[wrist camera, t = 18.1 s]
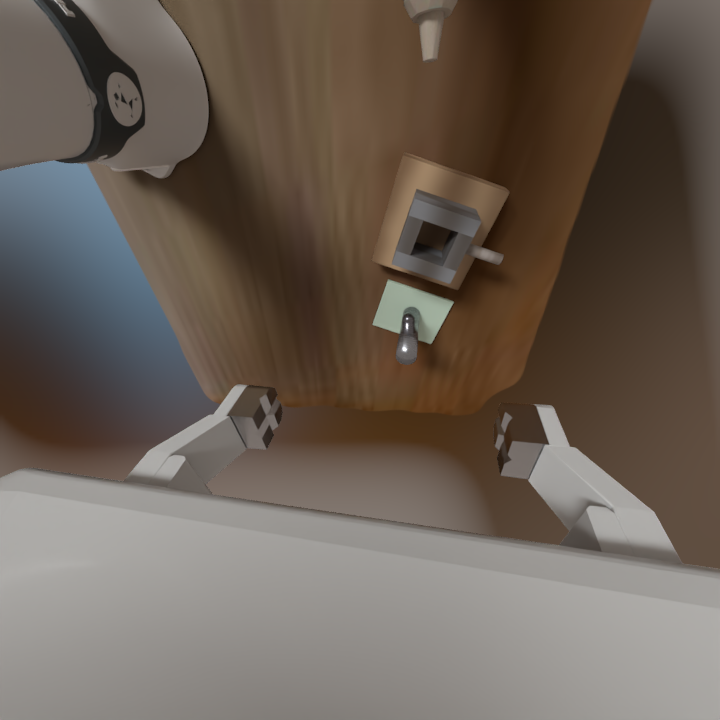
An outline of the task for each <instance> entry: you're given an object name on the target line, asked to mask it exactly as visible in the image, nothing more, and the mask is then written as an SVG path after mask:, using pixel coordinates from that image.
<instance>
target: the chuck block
mask: <svg viewBox="0 0 720 720" xmlns="http://www.w3.org/2000/svg"><path fill="white" fill-rule="evenodd" d="M509 193H510V192H509V191H508V190H507V189H506V188H505V187H503V186H501V185H498V184H495V183H492V182H489V181H486V180H483V179H480V178H478V177H475V176H472V175H469V174H466V173H463V172H460V171H458V170H455V169H452V168H449V167H446V166H443V165H440V164H437V163H435V162H432V161H429V160H426V159H423V158H420V157H417V156H414V155H412V154H409V153H406V152H405V153H404V154H403V157H402V160H401V163H400V167H399V170H398V173H397V177H396V180H395V183H394V187H393V190H392V193H391V197H390V200H389V203H388V207H387V210H386V213H385V217H384V220H383V223H382V227H381V230H380V233H379V237H378V240H377V243H376V247H375V250H374V253H373V257H372V260H371V261H372V262H375V263H378V264H381V265H384V266H387V267H390V268H393V269H396V270H399V271H402V272H405V273H408V274H411V275H414V276H417V277H420V278H423V279H426V280H429V281H432V282H435V283H438V284H441V285H444V286H447V287H449V288H452V289H455V290H458V289H459V287H460V285H461V284H462V282H463V280H464V278H465V276H466V274H467V272H468V270H469V269H470V267H471V265H472V263H473V261H474V259H475V257H476V258H479V259H481V260H484V261H487V262H490V263H493V264H496V265H499V264H500V263H501V262H502V260H503V256H504V255H503V254H500V253H497V252H494V251H491V250H488V249H485V248H483V247H481V246H482V244H483V242H484V240H485V238H486V237H487V235H488V233H489V231H490V229H491V227H492V225H493V223H494V221H495V220H496V218H497V216H498V214H499V212H500V210H501V208H502V206H503V205H504V203H505V201H506V199H507V197H508V195H509Z"/></svg>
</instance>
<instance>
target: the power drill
mask: <svg viewBox="0 0 720 720" xmlns="http://www.w3.org/2000/svg"><path fill="white" fill-rule="evenodd" d="M403 1H404V7H405V8H406V10H407V12H408V14H409V16H410V18H411V20H412V21H413V23H418V24H419V29H420V38H421V46H422V55H423V62H433V61H436V60H437V57H438V51H439V45H440V39H441V33H442V27H443V21H444V19H445V18H447V17H448V16H449V15H451V13H452V11H453V9H454V7H455V5H456V3H457V1H458V0H403Z"/></svg>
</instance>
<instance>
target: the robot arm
mask: <svg viewBox="0 0 720 720" xmlns="http://www.w3.org/2000/svg"><path fill="white" fill-rule="evenodd" d="M208 117H209V106H208V96H207V90H206V86H205V81H204V78H203V74H202V71H201V68H200V66H199V63H198V61H197V58H196V56H195V54H194V52H193V50H192V48H191V46H190V44H189V42H188V41H187V39H186V37H185V36H184V34H183V33H182V31H181V30H180V28H179V27H178V26H177V24H176V23H175V22H174V21H173V19H172V18H171V17H170V16H169V14H168V13H167V12H166V11H165V10H164V8H163V7H162V6H161V4H160V3H159V1H158V0H0V171H2V170H6V169H11V168H15V167H20V166H25V165H30V164H35V163H41V162H47V161H53V160H55V161H59V162H64V163H81V164H83V163H93V162H97V163H100V164H104V165H106V166H109V167H110V168H111V170H113V171H130V170H143V171H145V172H147V173H149V174H151V175H152V176H154V177H156V178H167V177H168V176H169V175H170V174H171V173H172V171H173V169H174V167H175V165H176V164H177V163H178V162H179V161H181V160H183V159H185V158H188V157H189V156H191V155H192V154H194V153H195V152H196V151H197V149H198V148H199V147H200V145H201V144H202V142H203V140H204V137H205V134H206V131H207V126H208ZM277 395H278V394H277V391H276V389H275V388H273V387H264V386H253V385H240V384H238V385H236V386H234V387H233V389H232V390H231V391H230V393H229V394H228V395H227V397H226V398H225V400H224V401H223V402H222V404H221V405H220V406H219V408H218V409H217V411H216V412H215V413H214V415H208V416H207V417H205V418H203V419H202V420H200V421H198V422H197V423H195V424H193V425H191V426H190V427H188V428H186V429H185V430H183V431H181V432H180V433H178V434H176V435H175V436H173V437H171V438H169V439H168V440H166V441H164V442H163V443H161V444H159V445H158V446H156V447H154V448H153V449H151V450H150V451H148V453H147V454H146V455H145V456H144V457H143V459H142V460H141V461H140V462H139V463H138V464H137V466H136V467H135V468H134V469H133V470H132V472H131V473H130V474H129V475H128V476H127V478H126V479H125V480H124V481H118V480H111V479H104V478H97V477H91V476H84V475H77V474H71V473H64V472H57V471H51V470H44V469H38V468H26V469H21V470H18V471H15V472H13V473H11V474H8V475H6V476H3V477H1V478H0V720H720V569H716V568H709V567H701V566H695V565H688V564H682V562H681V560H680V558H679V556H678V555H677V553H676V551H675V549H674V547H673V546H672V544H671V542H670V540H669V538H668V536H667V535H666V533H665V531H664V529H663V527H662V525H661V524H660V522H659V520H658V518H657V516H656V515H655V513H654V512H653V511H652V510H651V509H649V508H648V507H647V506H646V505H645V504H643V503H642V502H641V501H640V500H639V499H637V498H636V497H635V496H634V495H633V494H631V493H630V492H629V491H628V490H626V489H625V488H624V487H623V486H622V485H620V484H619V483H618V482H617V481H615V480H614V479H613V478H612V477H611V476H609V475H608V474H607V473H606V472H605V471H603V470H602V469H601V468H600V467H598V466H597V465H596V464H595V463H594V462H592V461H591V460H590V459H589V458H587V457H586V456H585V455H584V454H583V453H581V452H580V451H579V450H577V448H574V447H570V446H569V444H568V441H567V439H566V436H565V434H564V431H563V429H562V427H561V424H560V422H559V419H558V417H557V415H556V412H555V410H554V408H553V407H552V406H551V405H536V404H534V405H533V404H519V403H501V404H500V405H499V409H498V413H499V417H498V418H497V419H496V420H495V424H494V433H493V436H494V444H495V447H496V448H497V449H498V450H499V453H498V457H497V460H498V465H499V470H500V475H501V476H507V477H515V478H522V479H529V482H530V483H531V485H532V486H533V487H534V488H535V489H536V491H537V492H538V493H539V494H540V495H541V497H542V498H543V499H544V501H545V502H546V503H547V504H548V505H549V507H550V508H551V509H552V510H553V512H554V513H555V514H556V515H557V516H558V518H559V519H560V520H561V521H562V523H563V524H564V525H565V526H566V528H567V529H568V530H569V531H570V532H569V533H568V534H567V536H566V537H565V538H564V539H563V541H562V542H561V544H560V545H552V544H545V543H539V542H532V541H525V540H518V539H511V538H505V537H498V536H491V535H484V534H478V533H471V532H464V531H457V530H450V529H444V528H436V527H430V526H423V525H417V524H410V523H403V522H396V521H390V520H383V519H375V518H369V517H362V516H356V515H349V514H342V513H334V512H328V511H321V510H314V509H308V508H301V507H294V506H287V505H280V504H274V503H267V502H260V501H253V500H246V499H240V498H233V497H226V496H219V495H213V494H212V492H211V491H210V490H209V489H208V487H207V486H206V484H207V483H208V482H209V481H210V480H211V479H212V478H214V477H215V476H216V475H217V474H218V473H219V472H221V471H222V470H223V469H224V468H225V467H226V466H228V465H229V464H230V463H231V462H232V461H233V460H234V459H236V458H237V457H238V456H239V455H240V454H241V453H242V452H244V451H245V450H246V448H253V449H265V450H267V448H268V446H269V444H270V442H271V440H272V438H273V436H274V434H273V431H272V430H274V429H275V428H276V427H278V426H279V424H280V421H281V419H282V413H283V412H282V405H281V403H280V402H279V401H278V400H277V399H276V397H277Z"/></svg>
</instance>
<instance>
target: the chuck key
mask: <svg viewBox="0 0 720 720" xmlns="http://www.w3.org/2000/svg"><path fill="white" fill-rule="evenodd" d="M419 321H420V312H419V310H418V309H417V308H415V307H408V308H406V309H405V310H404V311H403V315H402V321H401V327H400V333H399V339H398V345H397V351H396V359H397V360H398V362H400V363H402V364H405V365H408V364H412V363H414V362H415V360H416V358H417V346H418V334H419Z"/></svg>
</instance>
